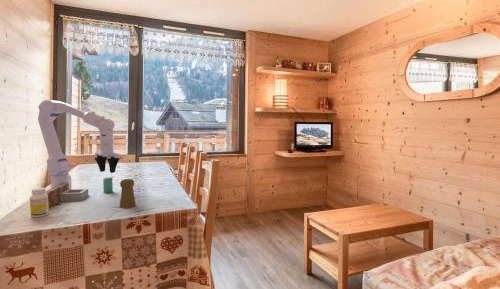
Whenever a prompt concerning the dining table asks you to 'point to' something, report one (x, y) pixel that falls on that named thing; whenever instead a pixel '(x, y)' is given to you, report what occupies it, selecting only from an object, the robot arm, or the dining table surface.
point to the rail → (56, 193)
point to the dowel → (108, 185)
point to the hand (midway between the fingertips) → (107, 172)
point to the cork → (127, 194)
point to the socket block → (73, 194)
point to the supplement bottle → (39, 203)
